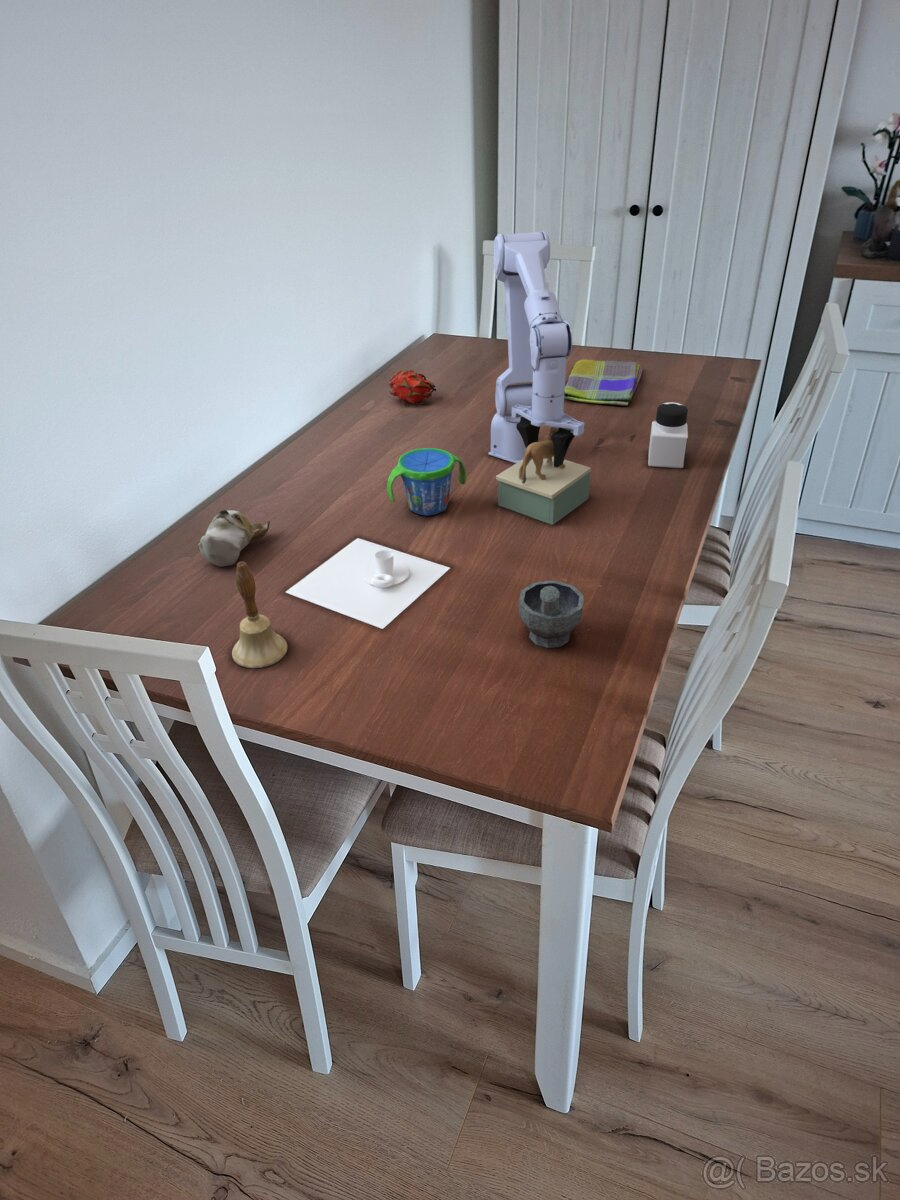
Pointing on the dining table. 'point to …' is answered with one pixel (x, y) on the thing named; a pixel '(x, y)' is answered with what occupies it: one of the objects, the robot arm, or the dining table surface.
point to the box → (544, 500)
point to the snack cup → (426, 479)
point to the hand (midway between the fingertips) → (545, 461)
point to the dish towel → (603, 382)
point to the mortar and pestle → (550, 611)
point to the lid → (554, 479)
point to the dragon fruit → (410, 386)
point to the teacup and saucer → (368, 582)
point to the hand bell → (255, 629)
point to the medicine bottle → (669, 436)
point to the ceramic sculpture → (229, 537)
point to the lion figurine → (538, 456)
